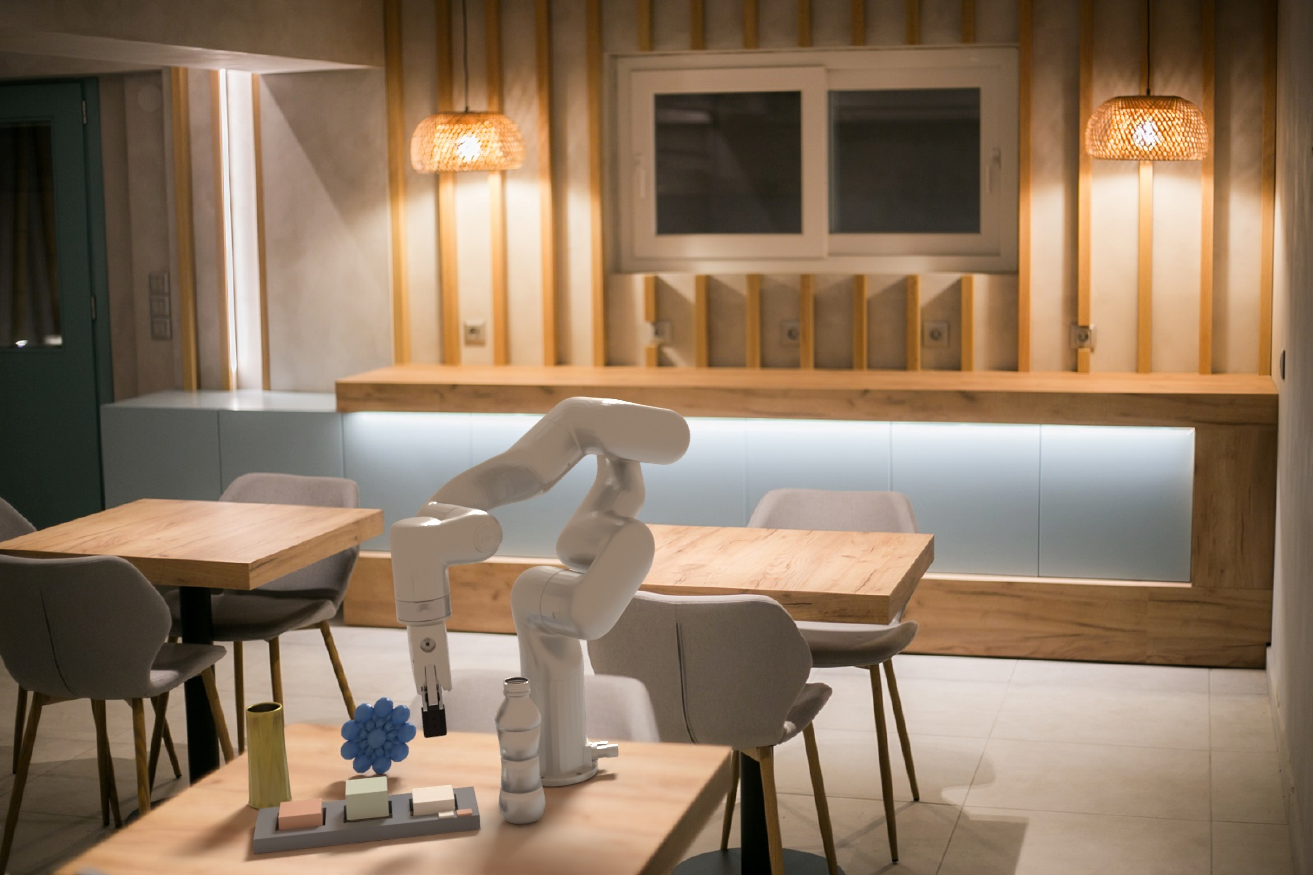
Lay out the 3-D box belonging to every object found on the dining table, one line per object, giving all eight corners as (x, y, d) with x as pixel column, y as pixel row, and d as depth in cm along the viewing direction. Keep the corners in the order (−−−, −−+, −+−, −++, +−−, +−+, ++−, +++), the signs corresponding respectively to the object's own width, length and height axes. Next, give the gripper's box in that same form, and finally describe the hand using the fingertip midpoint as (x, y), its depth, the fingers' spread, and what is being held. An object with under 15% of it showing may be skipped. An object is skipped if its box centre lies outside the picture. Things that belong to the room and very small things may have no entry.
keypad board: (474, 799, 208) (473, 784, 207) (480, 828, 197) (479, 812, 197) (259, 822, 202) (258, 806, 202) (254, 853, 191) (253, 837, 191)
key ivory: (453, 808, 204) (451, 784, 204) (455, 823, 199) (454, 799, 199) (413, 813, 203) (411, 788, 203) (414, 828, 198) (413, 803, 197)
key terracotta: (323, 822, 201) (321, 798, 201) (322, 838, 196) (320, 813, 195) (282, 827, 200) (280, 802, 199) (280, 843, 194) (278, 817, 194)
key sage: (388, 800, 202) (386, 776, 202) (388, 815, 197) (387, 790, 197) (347, 805, 201) (345, 780, 201) (347, 820, 196) (345, 795, 195)
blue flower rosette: (421, 762, 224) (417, 687, 222) (416, 777, 217) (412, 701, 216) (346, 765, 223) (341, 690, 222) (339, 781, 217) (334, 704, 215)
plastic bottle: (510, 833, 195) (503, 690, 193) (492, 816, 201) (485, 678, 199) (554, 823, 198) (547, 682, 196) (534, 807, 204) (528, 670, 202)
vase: (280, 811, 206) (273, 714, 204) (240, 809, 207) (234, 713, 205) (299, 795, 212) (292, 701, 210) (260, 793, 213) (254, 700, 211)
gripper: (454, 619, 191) (466, 750, 194) (447, 591, 205) (458, 713, 208) (397, 625, 189) (410, 758, 192) (394, 597, 204) (406, 720, 207)
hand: (435, 734), depth 200 cm, fingers closed
